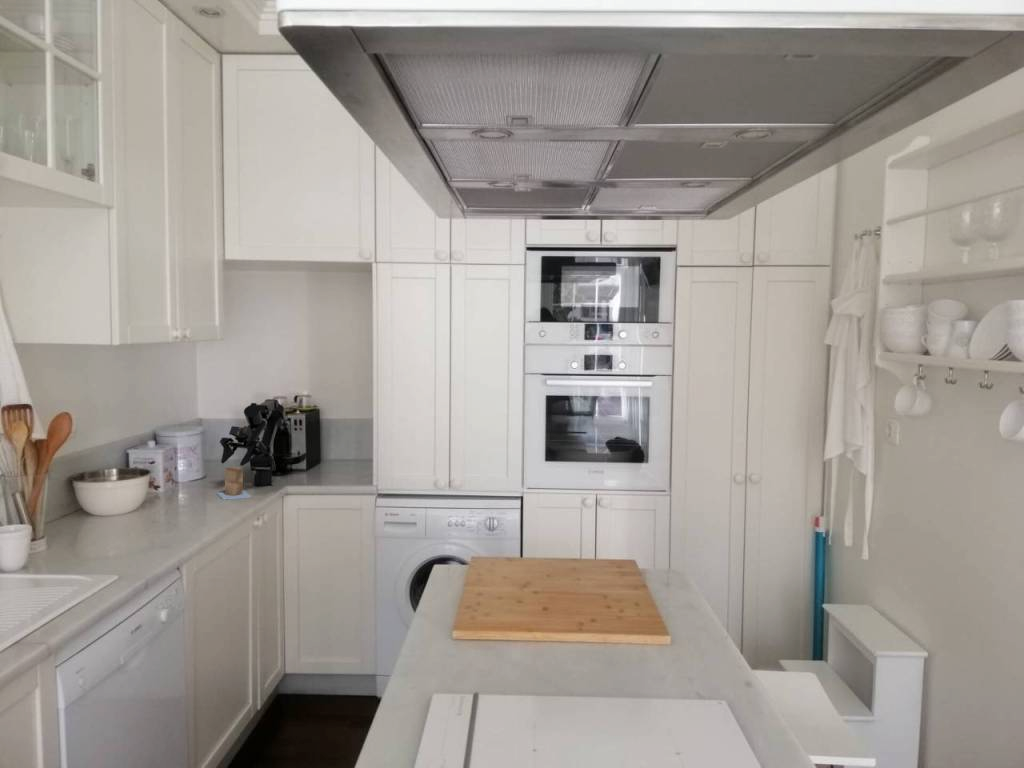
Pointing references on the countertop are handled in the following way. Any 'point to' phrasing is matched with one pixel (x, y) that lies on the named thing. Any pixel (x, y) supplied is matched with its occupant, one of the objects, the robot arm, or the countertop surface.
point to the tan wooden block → (233, 481)
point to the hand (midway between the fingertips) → (231, 463)
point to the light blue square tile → (224, 497)
